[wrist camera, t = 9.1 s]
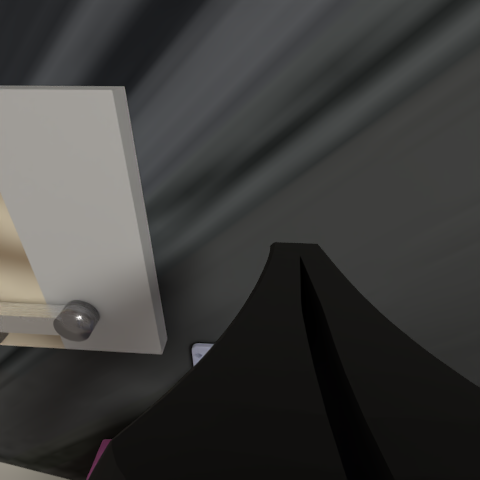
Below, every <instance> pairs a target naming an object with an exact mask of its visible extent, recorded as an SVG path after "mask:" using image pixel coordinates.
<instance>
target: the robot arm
mask: <svg viewBox="0 0 480 480" xmlns="http://www.w3.org/2000/svg"><path fill="white" fill-rule="evenodd" d="M192 357H193V366H194V367H192V368H191V369H190V370H189V371H188V372H187V373H186V374H185V375H184V376H183V377H182V378H181V379H180V380H179V381H178V382H177V383H176V384H175V385H174V386H173V387H172V388H171V389H170V390H169V391H168V392H167V393H166V394H165V395H163V396H162V397H161V398H160V399H159V400H158V401H157V402H156V403H154V404H153V405H152V406H151V407H150V408H148V409H147V410H146V411H145V412H144V413H142V414H141V415H140V416H139V417H138V418H137V419H135V420H134V421H133V422H132V423H131V424H129V425H128V426H127V427H126V428H125V429H123V430H122V431H121V432H120V433H119V434H117V435H116V436H115V437H114V438H113V439H112V440H110V442H109V444H108V445H107V447H106V448H105V450H104V452H103V454H102V455H101V457H100V459H99V460H98V462H97V464H96V466H95V467H94V469H93V471H92V473H91V475H90V477H89V479H88V480H480V388H479V387H478V386H476V385H475V384H473V383H472V382H470V381H469V380H467V379H466V378H464V377H463V376H461V375H460V374H459V373H457V372H456V371H454V370H453V369H451V368H450V367H449V366H447V365H446V364H444V363H443V362H442V361H440V360H439V359H437V358H436V357H434V356H433V355H432V354H430V353H429V352H428V351H426V350H425V349H424V348H422V347H421V346H420V345H418V344H417V343H416V342H415V341H413V340H412V339H411V338H410V337H409V336H407V335H406V334H405V333H404V332H402V331H401V330H400V329H399V328H398V327H396V326H395V325H394V324H393V323H392V322H390V321H389V320H388V319H387V318H386V317H385V316H384V315H382V314H381V313H380V312H379V311H378V310H377V309H376V308H375V307H374V306H373V305H372V304H371V303H370V302H369V301H368V300H367V299H366V298H365V297H364V296H363V295H362V294H361V293H360V292H359V291H358V290H357V289H356V288H355V287H354V286H353V285H352V284H351V283H350V282H349V280H348V279H347V278H346V277H345V276H344V275H343V274H342V273H341V271H340V270H339V269H338V268H337V267H336V266H335V264H334V263H333V262H332V261H331V260H330V258H329V257H328V256H327V255H326V254H325V252H324V251H323V250H322V249H321V248H320V246H319V245H318V244H305V243H278V242H275V243H273V244H272V245H271V246H270V253H269V257H268V260H267V262H266V265H265V267H264V270H263V272H262V274H261V276H260V278H259V280H258V282H257V284H256V286H255V288H254V289H253V291H252V293H251V294H250V296H249V298H248V299H247V301H246V303H245V304H244V306H243V307H242V309H241V310H240V312H239V313H238V315H237V316H236V317H235V319H234V320H233V321H232V323H231V324H230V325H229V327H228V328H227V329H226V331H225V332H224V333H223V334H222V335H221V337H220V338H219V339H218V340H217V341H216V343H215V344H205V343H196V344H194V345H193V347H192Z"/></svg>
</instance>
